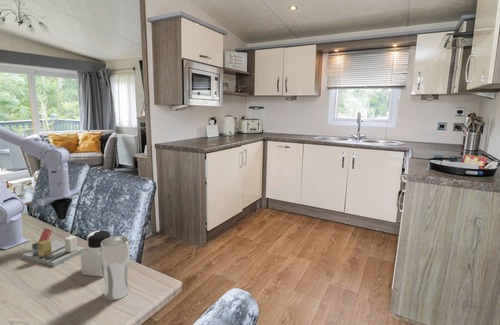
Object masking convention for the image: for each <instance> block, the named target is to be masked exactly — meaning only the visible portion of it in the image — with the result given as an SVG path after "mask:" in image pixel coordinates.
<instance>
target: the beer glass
mask: <svg viewBox="0 0 500 325" xmlns="http://www.w3.org/2000/svg"><path fill="white" fill-rule="evenodd" d="M130 250H131V249H130V242H129V238H128V237H126V236H124V235H115V236H114V235H113V236H110V237H109V238H106V239H104V240H103V241H102V242H101V249H100V261H101V267H102V271H103V275H104V277H103V278H104V292H103V293H104V294H103V297H104V299H106V300H108V301H117V300H121V299H123V298H125V297H126V296H127V295H128V294H129V291H130V288H129V287H130V286H129V283H128V273H129V267H130V258H131V257H130V256H131V253H130V252H131V251H130Z"/></svg>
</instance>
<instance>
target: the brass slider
mask: <svg viewBox="0 0 500 325" xmlns="http://www.w3.org/2000/svg"><path fill="white" fill-rule="evenodd" d="M38 242H39V241H38ZM38 242H37V243H38ZM51 242H52V241H51V240H44V241H41V242H39V243H38V253H39V256H41V257H45V256H47V255H50V254H52V252H51Z"/></svg>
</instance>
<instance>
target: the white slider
mask: <svg viewBox="0 0 500 325" xmlns="http://www.w3.org/2000/svg"><path fill="white" fill-rule="evenodd" d="M64 242H65V251H68V252H72V251H74V250H76V249H77V246H78V239H77V236H74V235H69V236H67V237H65V238H64Z"/></svg>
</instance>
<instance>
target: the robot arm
mask: <svg viewBox="0 0 500 325" xmlns="http://www.w3.org/2000/svg"><path fill="white" fill-rule="evenodd" d="M0 140H2V141H4V142H6V143H9V144H12V145H16V146H18V147H21V149H22V151H23V153H26V154H28V155H30V156H32V157H35V158H37V159H40V160H42V161H43V163H44V164H45V165H46V166H47V167H46V168H47V170H48V171H47V172H48V184H49V194H48V195H46V196H43V197H41V198H39V199H37V200H36V202H37V206H40V207H41V206H42V207H43V206H45V205H47V204H49V205H50V207H51V208H52V209H53V210H54V213H55V214H56V216H57V219H58V220H62V221H63V220H65V219H67V215H68V211H69V208H70V206H71V204H72V203H73V198H72V197H76V196H80V195H81V194H82V193H81V189H77V188H75V189H72V190H71V189H70V178H69V177H70V176H69V167H68V166H69V165H68V163H69V161H70V159H71V153H70V151H69V150H68V149H67V148H65V147H63V146H58V147H56V145H55V144H50V143H48V142H46V141H43V140H42V138H41V137H29V138H27V137H26V136H23V135H21V134H20V133H17V132H16V131H13V130H11V129H9V128H7V127H5V126H3V125H2V124H0ZM25 209H26V204H25V202H24V201H23V200H22V199H21V198H19V197H18V196H17V193H14V192H12V191H9V190H8V189H7V187H6V186H5V184H4V182H3V180H2V179H1V178H0V250H4V251H5V250H8V249H12V248H14V247H17V246H18V245H22V244H24V243H26V242H29V241H30V238H26V237H24V233H23V231H24V230H23V224H22V223H23V222H22V216H23V215H22V213H23V212H25Z"/></svg>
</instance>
